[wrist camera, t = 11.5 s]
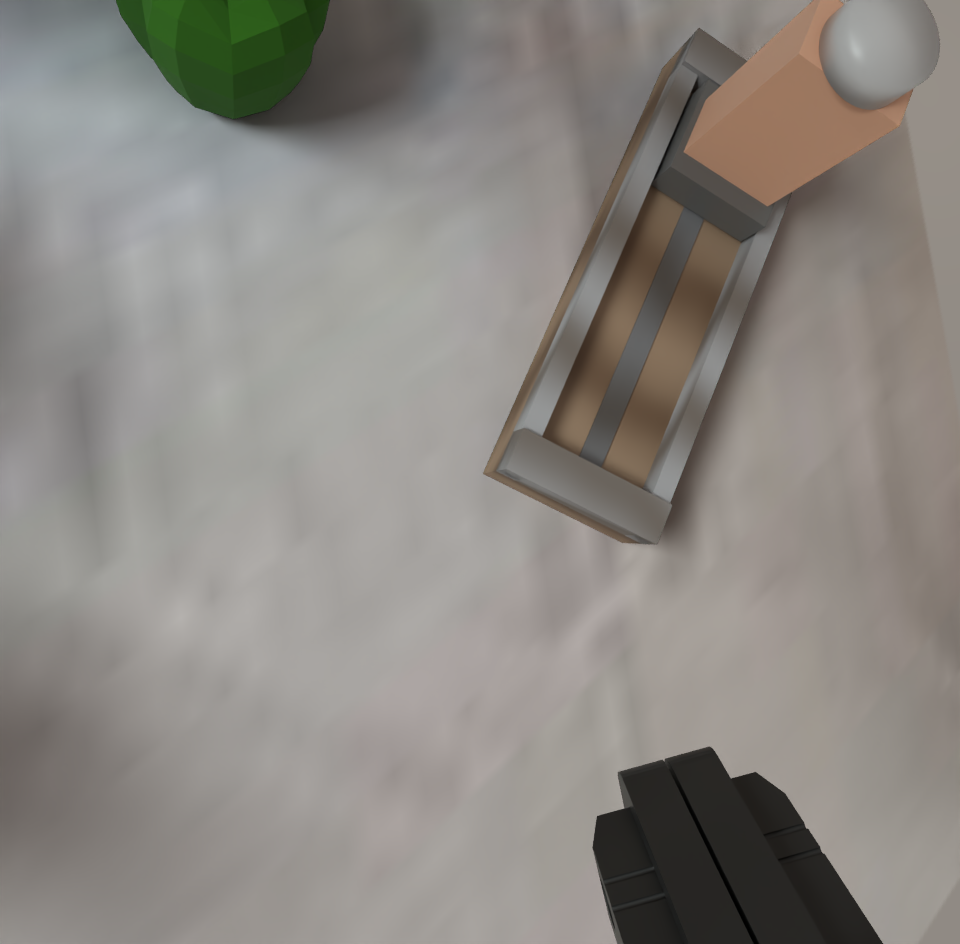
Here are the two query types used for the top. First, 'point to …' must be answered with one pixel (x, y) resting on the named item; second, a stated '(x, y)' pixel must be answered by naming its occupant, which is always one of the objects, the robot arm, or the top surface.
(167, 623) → the top surface
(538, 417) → the fader track
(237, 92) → the bell pepper
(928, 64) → the slider tab
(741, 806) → the robot arm
